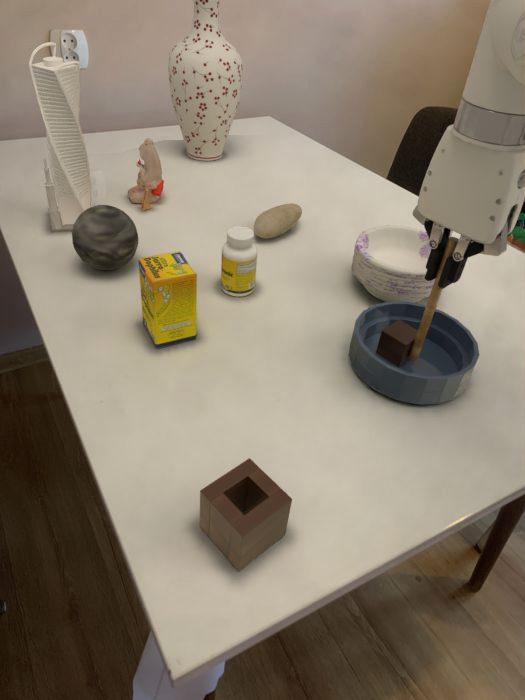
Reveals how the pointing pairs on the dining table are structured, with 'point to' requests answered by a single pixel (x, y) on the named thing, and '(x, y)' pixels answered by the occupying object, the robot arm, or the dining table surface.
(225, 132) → the vase
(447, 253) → the bamboo stick
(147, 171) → the figurine
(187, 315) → the supplement box
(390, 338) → the walnut cube
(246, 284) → the supplement bottle
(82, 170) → the skyscraper
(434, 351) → the stir bowl
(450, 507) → the dining table surface
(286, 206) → the stone
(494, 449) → the dining table surface
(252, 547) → the stick holder
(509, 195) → the robot arm
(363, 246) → the paper bowls
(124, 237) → the decorative stone
